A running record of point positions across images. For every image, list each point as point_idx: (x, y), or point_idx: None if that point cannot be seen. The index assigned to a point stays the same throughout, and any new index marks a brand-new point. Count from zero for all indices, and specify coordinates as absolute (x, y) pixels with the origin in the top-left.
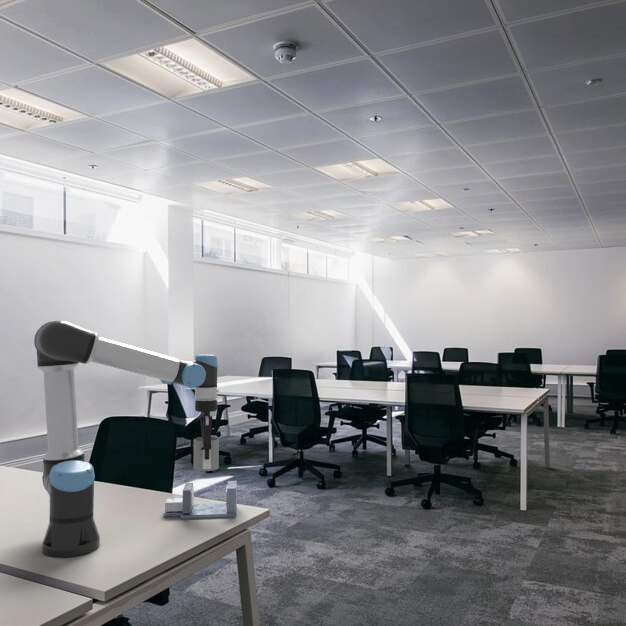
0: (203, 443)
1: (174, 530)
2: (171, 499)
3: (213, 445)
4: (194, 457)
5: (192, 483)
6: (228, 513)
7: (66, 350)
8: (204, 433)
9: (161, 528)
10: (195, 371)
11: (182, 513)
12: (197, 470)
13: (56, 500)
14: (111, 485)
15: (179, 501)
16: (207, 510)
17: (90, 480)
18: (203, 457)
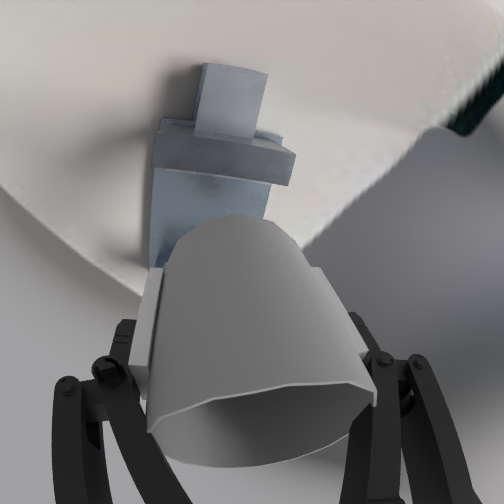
0: (108, 415)
1: (68, 109)
2: (248, 88)
3: (176, 427)
4: (225, 258)
5: (273, 181)
6: (151, 258)
7: None
8: (59, 498)
9: (92, 70)
10: None
11: (181, 123)
12: (187, 234)
13: None
14: (497, 45)
15: (208, 115)
16: (193, 204)
17: None
18: (139, 321)
